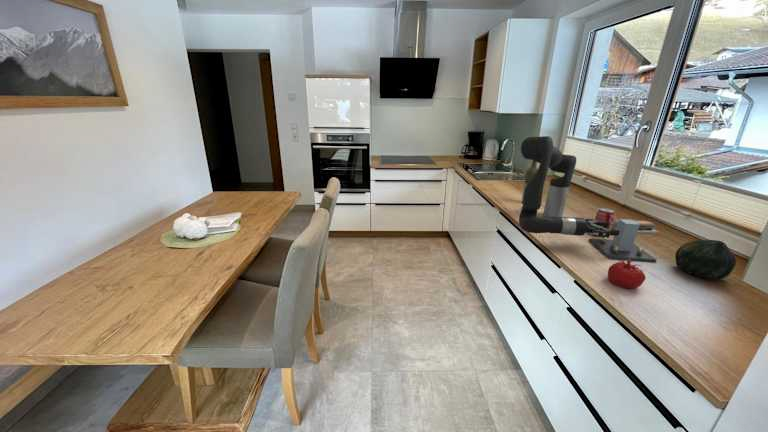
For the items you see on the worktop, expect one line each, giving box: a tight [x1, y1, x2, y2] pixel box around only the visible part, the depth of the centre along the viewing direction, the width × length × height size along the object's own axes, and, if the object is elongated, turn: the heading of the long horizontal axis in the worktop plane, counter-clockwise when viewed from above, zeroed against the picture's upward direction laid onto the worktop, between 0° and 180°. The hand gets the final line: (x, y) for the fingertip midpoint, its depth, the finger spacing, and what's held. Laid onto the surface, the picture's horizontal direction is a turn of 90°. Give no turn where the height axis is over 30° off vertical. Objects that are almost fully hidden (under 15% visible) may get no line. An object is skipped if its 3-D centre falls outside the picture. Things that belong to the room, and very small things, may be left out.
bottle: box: [521, 160, 538, 203], centre depth 183 cm, size 7×7×30 cm
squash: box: [674, 239, 737, 281], centre depth 110 cm, size 14×15×15 cm
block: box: [611, 218, 640, 251], centre depth 127 cm, size 5×5×12 cm
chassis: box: [588, 237, 658, 263], centre depth 128 cm, size 17×17×4 cm
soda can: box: [594, 207, 616, 231], centre depth 144 cm, size 7×7×12 cm
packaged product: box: [611, 219, 660, 235], centre depth 150 cm, size 18×5×10 cm
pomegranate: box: [607, 259, 647, 289], centre depth 104 cm, size 10×10×9 cm
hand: (612, 228), depth 126 cm, fingers open, 8 cm apart
